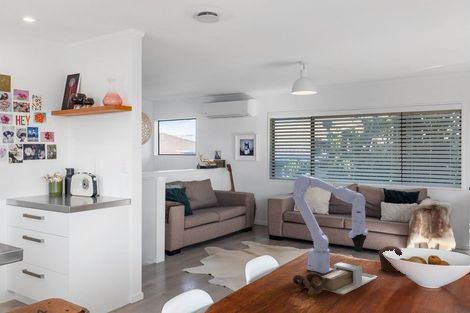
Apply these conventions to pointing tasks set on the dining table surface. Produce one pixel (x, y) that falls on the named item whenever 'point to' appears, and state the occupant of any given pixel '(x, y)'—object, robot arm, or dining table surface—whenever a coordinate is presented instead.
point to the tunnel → (358, 278)
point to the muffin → (384, 262)
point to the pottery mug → (309, 282)
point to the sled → (337, 279)
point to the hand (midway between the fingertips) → (358, 251)
